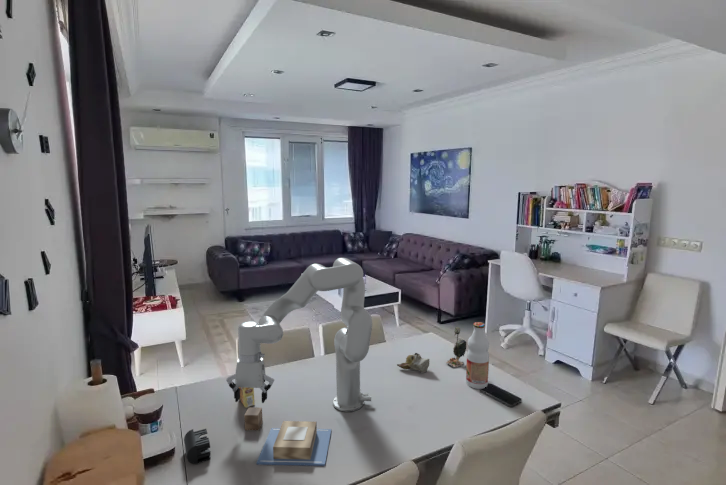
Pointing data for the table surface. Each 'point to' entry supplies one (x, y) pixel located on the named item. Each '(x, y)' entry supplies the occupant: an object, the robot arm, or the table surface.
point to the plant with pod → (458, 350)
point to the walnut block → (253, 418)
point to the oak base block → (295, 440)
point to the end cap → (197, 446)
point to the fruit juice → (477, 358)
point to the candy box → (247, 396)
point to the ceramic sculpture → (415, 363)
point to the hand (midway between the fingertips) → (250, 400)
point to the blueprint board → (316, 459)
